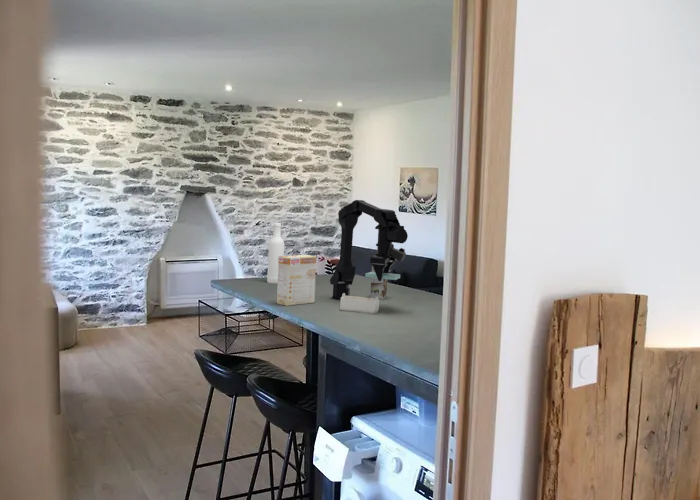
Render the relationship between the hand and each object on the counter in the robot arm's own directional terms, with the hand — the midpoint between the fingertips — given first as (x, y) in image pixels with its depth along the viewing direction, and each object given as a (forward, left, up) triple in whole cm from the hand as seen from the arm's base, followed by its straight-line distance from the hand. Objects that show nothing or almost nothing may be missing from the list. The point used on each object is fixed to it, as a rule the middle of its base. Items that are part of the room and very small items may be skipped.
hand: (382, 280), depth 247 cm
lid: (0, 0, +1) cm, 1 cm away
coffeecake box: (-35, -6, -12) cm, 37 cm away
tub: (-7, -8, -12) cm, 16 cm away
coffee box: (-9, +28, -12) cm, 32 cm away
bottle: (-67, +43, -12) cm, 81 cm away
